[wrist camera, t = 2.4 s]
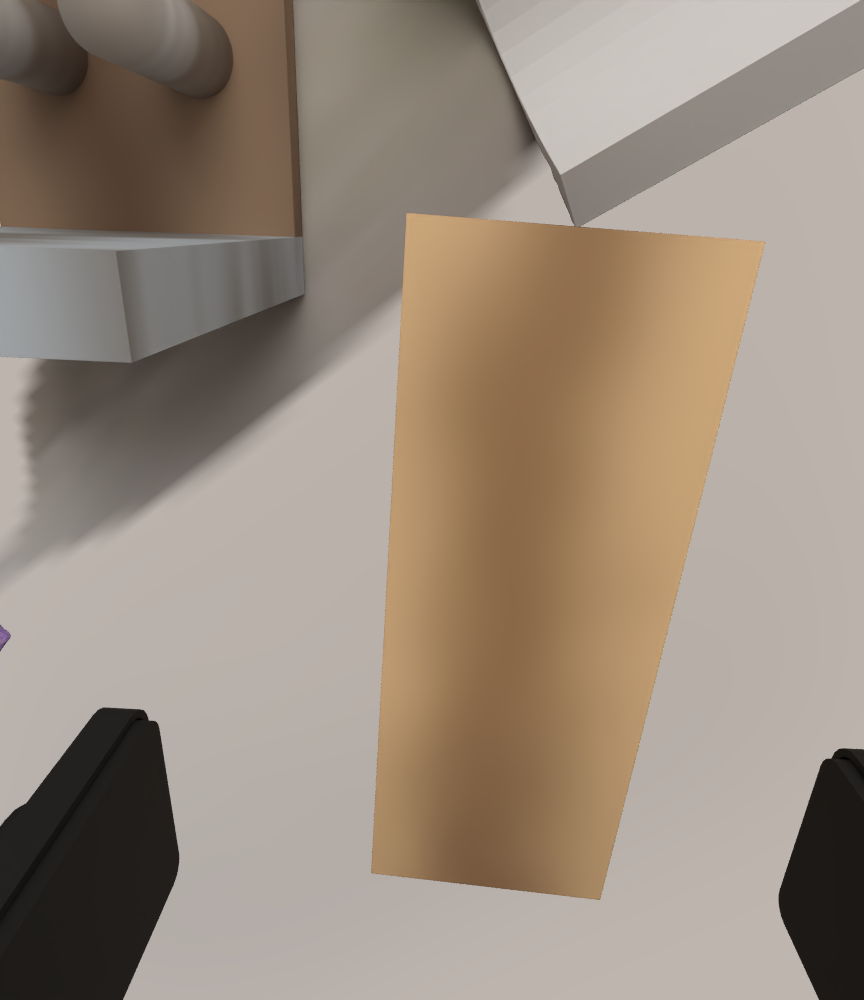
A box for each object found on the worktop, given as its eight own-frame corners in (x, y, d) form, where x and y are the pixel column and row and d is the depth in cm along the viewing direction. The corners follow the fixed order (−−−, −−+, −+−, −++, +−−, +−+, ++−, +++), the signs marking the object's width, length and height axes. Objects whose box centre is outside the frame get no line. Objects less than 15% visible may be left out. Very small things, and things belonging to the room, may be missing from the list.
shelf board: (708, 237, 14) (765, 241, 11) (583, 806, 20) (600, 900, 17) (422, 215, 14) (406, 213, 11) (386, 784, 20) (371, 872, 17)
